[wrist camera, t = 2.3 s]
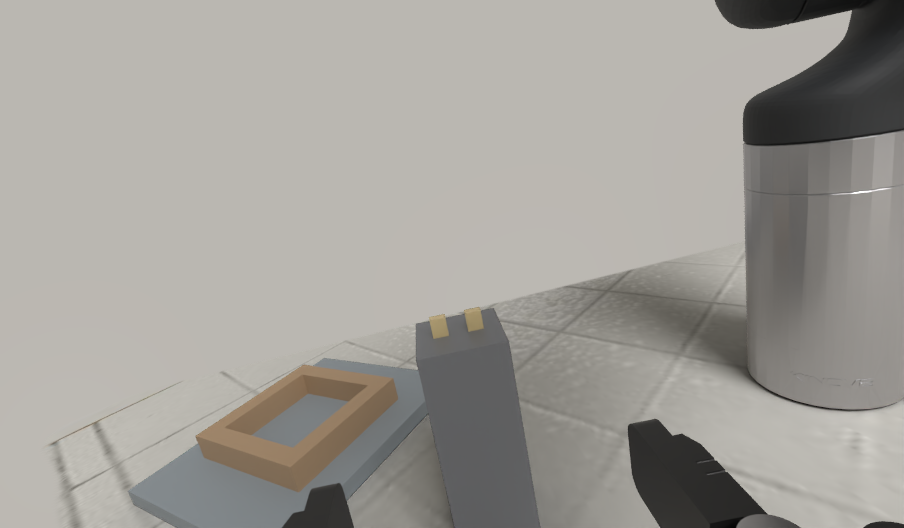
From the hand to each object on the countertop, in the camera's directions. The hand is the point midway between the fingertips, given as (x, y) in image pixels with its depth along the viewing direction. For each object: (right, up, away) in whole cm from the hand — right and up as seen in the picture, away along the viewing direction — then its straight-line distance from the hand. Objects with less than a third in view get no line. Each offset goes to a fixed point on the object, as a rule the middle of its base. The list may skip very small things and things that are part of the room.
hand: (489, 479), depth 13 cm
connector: (+2, -9, +14) cm, 17 cm away
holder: (-13, -8, +25) cm, 30 cm away
